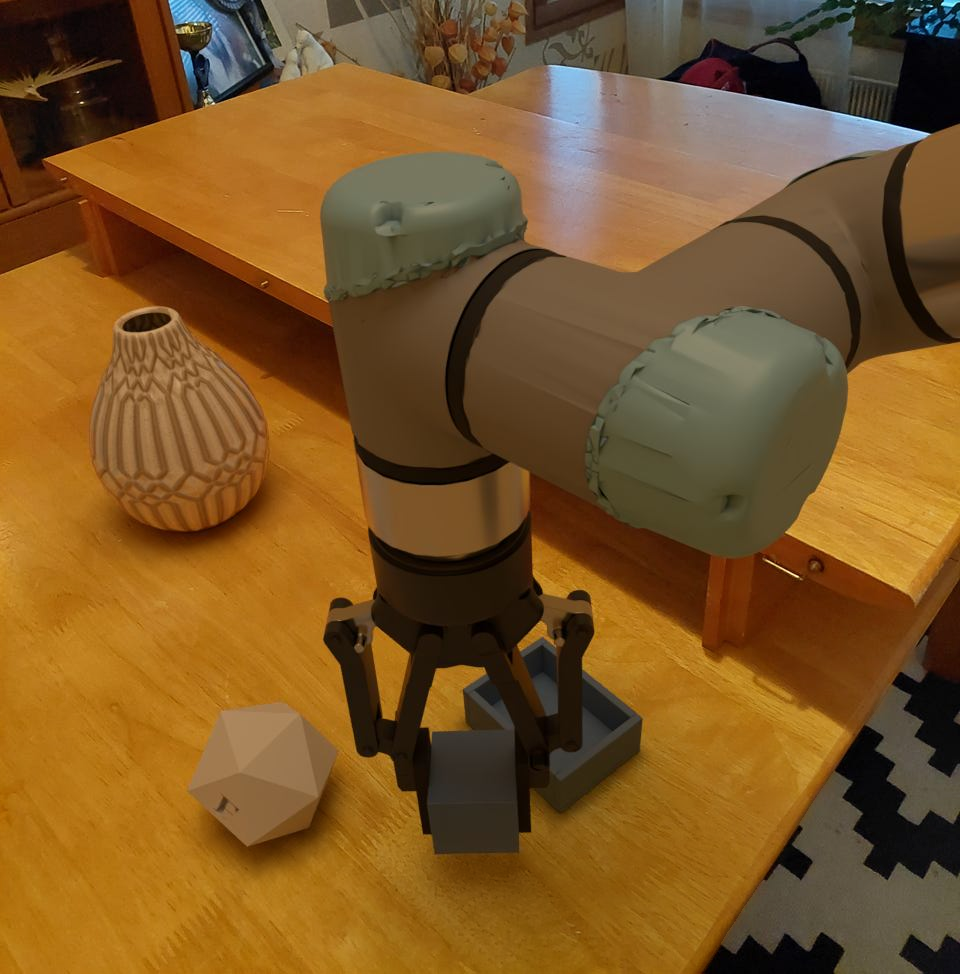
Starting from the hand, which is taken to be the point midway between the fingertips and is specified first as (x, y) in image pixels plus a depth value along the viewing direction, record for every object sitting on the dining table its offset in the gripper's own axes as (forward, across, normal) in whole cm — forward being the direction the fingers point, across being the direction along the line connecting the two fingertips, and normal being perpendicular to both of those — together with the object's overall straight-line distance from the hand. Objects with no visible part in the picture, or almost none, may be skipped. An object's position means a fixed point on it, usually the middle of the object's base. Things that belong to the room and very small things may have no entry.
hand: (477, 813), depth 56 cm
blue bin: (+5, -5, -10) cm, 12 cm away
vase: (+5, +28, -38) cm, 48 cm away
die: (+5, +14, -4) cm, 16 cm away
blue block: (0, 0, 0) cm, 0 cm away
